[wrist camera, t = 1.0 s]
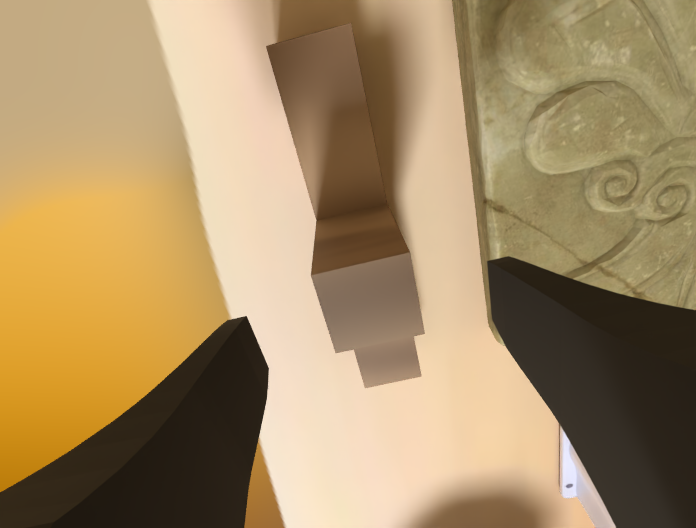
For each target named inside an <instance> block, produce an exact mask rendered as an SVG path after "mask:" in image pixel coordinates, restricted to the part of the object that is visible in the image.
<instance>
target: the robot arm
mask: <svg viewBox="0 0 696 528" xmlns="http://www.w3.org/2000/svg"><path fill="white" fill-rule="evenodd" d="M487 269H488V280H489V292H490V304H491V315H492V321H493V323H494V325H495V327H496V329H497V331H498V333H499V335H500V337H501V338H502V340H503V342H504V344H505V346H506V348H507V349H508V351H509V352H510V354H511V355H512V356H513V358H514V359H515V361H516V362H517V364H518V365H519V366H520V368H521V369H522V371H523V372H524V373H525V375H526V376H527V378H528V379H529V380H530V382H531V383H532V385H533V386H534V387H535V389H536V390H537V392H538V393H539V395H540V396H541V397H542V399H543V400H544V402H545V403H546V404H547V406H548V407H549V409H550V410H551V411H552V413H553V415H554V416H555V418H556V419H557V421H558V422H559V424H560V493H561V495H562V497H564V498H573V497H578V499H579V501H580V503H581V504H582V506H583V508H584V509H585V511H586V513H587V514H588V516H589V518H590V519H591V521H592V523H593V524H594V526H595V528H696V310H693V309H687V308H681V307H676V306H671V305H666V304H661V303H656V302H652V301H648V300H644V299H639V298H635V297H631V296H627V295H623V294H619V293H616V292H612V291H609V290H605V289H602V288H599V287H596V286H592V285H589V284H586V283H583V282H580V281H577V280H574V279H571V278H568V277H565V276H563V275H560V274H557V273H554V272H552V271H549V270H546V269H544V268H541V267H538V266H536V265H533V264H530V263H528V262H525V261H522V260H519V259H516V258H513V257H510V256H507V257H502V258H498V259H494V260H489V261H487ZM268 373H269V368H268V365H267V363H266V361H265V358H264V356H263V354H262V351H261V349H260V347H259V344H258V342H257V339H256V337H255V335H254V332H253V330H252V328H251V325H250V323H249V321H248V318H247V316H245V317H240V318H236V319H232V320H227V321H226V322H225V323H223V324H222V325H221V326H220V327H219V328H218V329H217V330H215V331H214V332H213V333H212V334H211V335H210V336H209V337H208V338H207V339H206V340H205V341H204V342H203V343H202V344H201V345H200V346H199V347H198V348H197V349H196V350H195V351H194V352H193V353H192V354H191V355H190V356H189V357H188V358H187V359H186V360H185V361H184V362H183V363H182V364H181V365H179V366H178V367H177V368H176V369H175V370H174V371H173V372H172V373H171V374H169V375H168V376H167V377H166V378H165V379H164V380H163V381H162V382H161V383H160V384H158V385H157V386H156V387H155V388H154V389H153V390H152V391H151V392H149V393H148V394H147V395H146V396H145V397H143V398H142V399H141V400H140V401H139V402H137V403H136V404H135V405H134V406H132V407H131V408H130V409H129V410H127V411H126V412H125V413H123V414H122V415H121V416H119V417H118V418H117V419H115V420H114V421H113V422H111V423H110V424H108V425H107V426H106V427H104V428H103V429H101V430H100V431H98V432H97V433H96V434H94V435H93V436H91V437H90V438H88V439H87V440H85V441H84V442H82V443H81V444H79V445H78V446H77V447H75V448H74V449H72V450H71V451H69V452H68V453H66V454H64V455H63V456H61V457H60V458H58V459H56V460H55V461H53V462H52V463H50V464H48V465H47V466H45V467H43V468H42V469H40V470H38V471H37V472H35V473H33V474H32V475H30V476H28V477H27V478H25V479H23V480H22V481H20V482H18V483H16V484H14V485H13V486H11V487H9V488H7V489H6V490H4V491H2V492H0V528H244V524H245V515H246V507H247V497H248V489H249V482H250V477H251V471H252V466H253V461H254V457H255V452H256V447H257V443H258V438H259V434H260V429H261V424H262V420H263V415H264V410H265V405H266V400H267V389H268Z"/></svg>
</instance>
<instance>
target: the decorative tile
mask: <svg viewBox="0 0 696 528" xmlns="http://www.w3.org/2000/svg"><path fill="white" fill-rule="evenodd" d="M452 4H453V12H454V21H455V33H456V41H457V48H458V57H459V66H460V76H461V85H462V93H463V102H464V111H465V120H466V130H467V138H468V147H469V155H470V164H471V173H472V182H473V191H474V199H475V208H476V217H477V227H478V236H479V245H480V256H481V264H482V273H483V282H484V290H485V299H486V307H487V317H488V323H489V327H490V329H491V331H492V333H493V334H494V337H495V339H496V340H497V342H499V343H500V344H502V345H503V346H505V344H504V342H503V340H502V338H501V337H500V335H499V333H498V331H497V329H496V327H495V325H494V323H493V321H492V315H491V304H490V292H489V280H488V269H487V261H489V260H494V259H498V258H502V257H507V256H510V257H513V258H516V259H519V260H522V261H525V262H528V263H530V264H533V265H536V266H538V267H541V268H544V269H546V270H549V271H552V272H554V273H557V274H560V275H563V276H565V277H568V278H571V279H574V280H577V281H580V282H583V283H586V284H589V285H592V286H596V287H599V288H602V289H605V290H609V291H612V292H616V293H619V294H623V295H627V296H631V297H635V298H639V299H644V300H648V301H652V302H656V303H661V304H666V305H671V306H676V307H681V308H687V309H693V310H695V309H696V0H452Z"/></svg>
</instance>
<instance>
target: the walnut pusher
mask: <svg viewBox="0 0 696 528" xmlns="http://www.w3.org/2000/svg"><path fill="white" fill-rule="evenodd" d="M266 48H267V51H268V55H269V58H270V62H271V65H272V68H273V72H274V75H275V79H276V82H277V86H278V89H279V93H280V96H281V100H282V103H283V106H284V110H285V113H286V117H287V120H288V124H289V127H290V131H291V134H292V138H293V141H294V144H295V148H296V151H297V155H298V158H299V162H300V165H301V169H302V172H303V175H304V179H305V182H306V186H307V189H308V193H309V196H310V200H311V203H312V207H313V210H314V213H315V217H316V220H317V221H316V231H315V241H314V251H313V261H312V271H311V277H312V280H313V283H314V286H315V290H316V293H317V296H318V299H319V302H320V305H321V308H322V312H323V315H324V318H325V321H326V324H327V327H328V330H329V334H330V337H331V340H332V343H333V346H334V349H335V353H339V352H344V351H348V350H353V349H354V352H355V355H356V358H357V362H358V365H359V369H360V372H361V376H362V379H363V383H364V386H365V388H369V387H373V386H378V385H383V384H387V383H392V382H397V381H402V380H406V379H411V378H416V377H421V371H420V366H419V361H418V356H417V351H416V346H415V341H414V336H417V335H422V334H425V332H424V327H423V321H422V316H421V311H420V305H419V300H418V294H417V289H416V283H415V278H414V272H413V267H412V262H411V256H410V252H409V250H408V247H407V245H406V243H405V241H404V239H403V237H402V235H401V232H400V230H399V228H398V226H397V224H396V222H395V220H394V217H393V215H392V213H391V211H390V209H389V207H388V205H387V201H386V196H385V191H384V186H383V181H382V176H381V171H380V166H379V161H378V156H377V151H376V146H375V141H374V136H373V131H372V126H371V121H370V116H369V111H368V106H367V101H366V96H365V91H364V86H363V81H362V76H361V71H360V66H359V61H358V56H357V51H356V46H355V41H354V36H353V31H352V26H351V23H349V24H345V25H341V26H338V27H334V28H331V29H327V30H323V31H320V32H316V33H312V34H309V35H305V36H301V37H298V38H294V39H291V40H287V41H283V42H280V43H276V44H272V45H269V46H266Z"/></svg>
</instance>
